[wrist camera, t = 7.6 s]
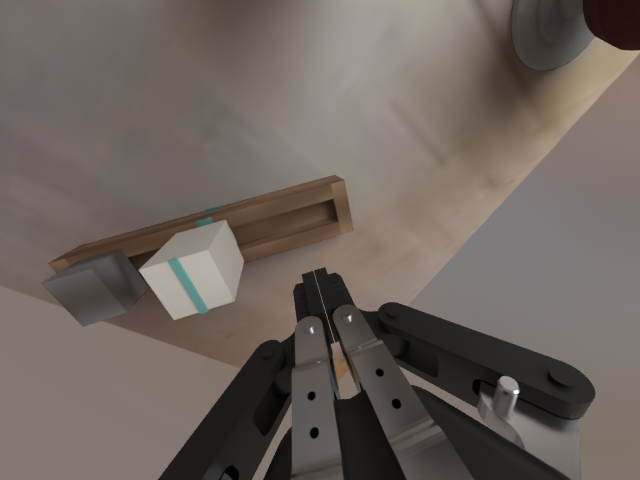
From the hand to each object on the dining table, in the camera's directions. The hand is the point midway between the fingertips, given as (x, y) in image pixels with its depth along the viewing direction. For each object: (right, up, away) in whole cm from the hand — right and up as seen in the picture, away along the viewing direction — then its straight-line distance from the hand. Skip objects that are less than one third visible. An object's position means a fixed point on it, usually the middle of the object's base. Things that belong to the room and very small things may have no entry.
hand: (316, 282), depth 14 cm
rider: (-12, +3, +12) cm, 17 cm away
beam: (-12, +4, +14) cm, 18 cm away
